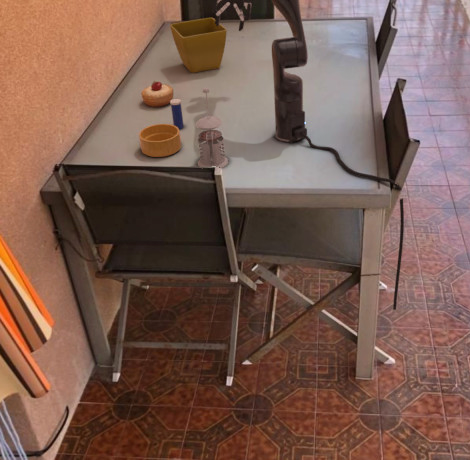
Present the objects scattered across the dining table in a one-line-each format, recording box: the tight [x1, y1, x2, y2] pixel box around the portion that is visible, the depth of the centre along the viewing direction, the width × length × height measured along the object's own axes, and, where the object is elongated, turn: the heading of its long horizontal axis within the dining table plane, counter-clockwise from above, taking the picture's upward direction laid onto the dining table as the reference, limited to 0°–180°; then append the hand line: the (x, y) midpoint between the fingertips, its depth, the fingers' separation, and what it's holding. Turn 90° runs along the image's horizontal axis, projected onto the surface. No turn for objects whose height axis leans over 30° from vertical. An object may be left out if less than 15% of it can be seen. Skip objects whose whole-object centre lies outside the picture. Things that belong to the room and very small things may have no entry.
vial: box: [169, 98, 184, 130], centre depth 228 cm, size 4×4×10 cm
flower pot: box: [169, 17, 228, 74], centre depth 274 cm, size 19×19×17 cm
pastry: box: [140, 81, 174, 108], centre depth 247 cm, size 12×12×9 cm
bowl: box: [138, 123, 182, 158], centre depth 216 cm, size 13×13×6 cm
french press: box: [195, 87, 229, 169], centre depth 201 cm, size 10×12×25 cm
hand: (228, 28), depth 245 cm, fingers open, 8 cm apart
